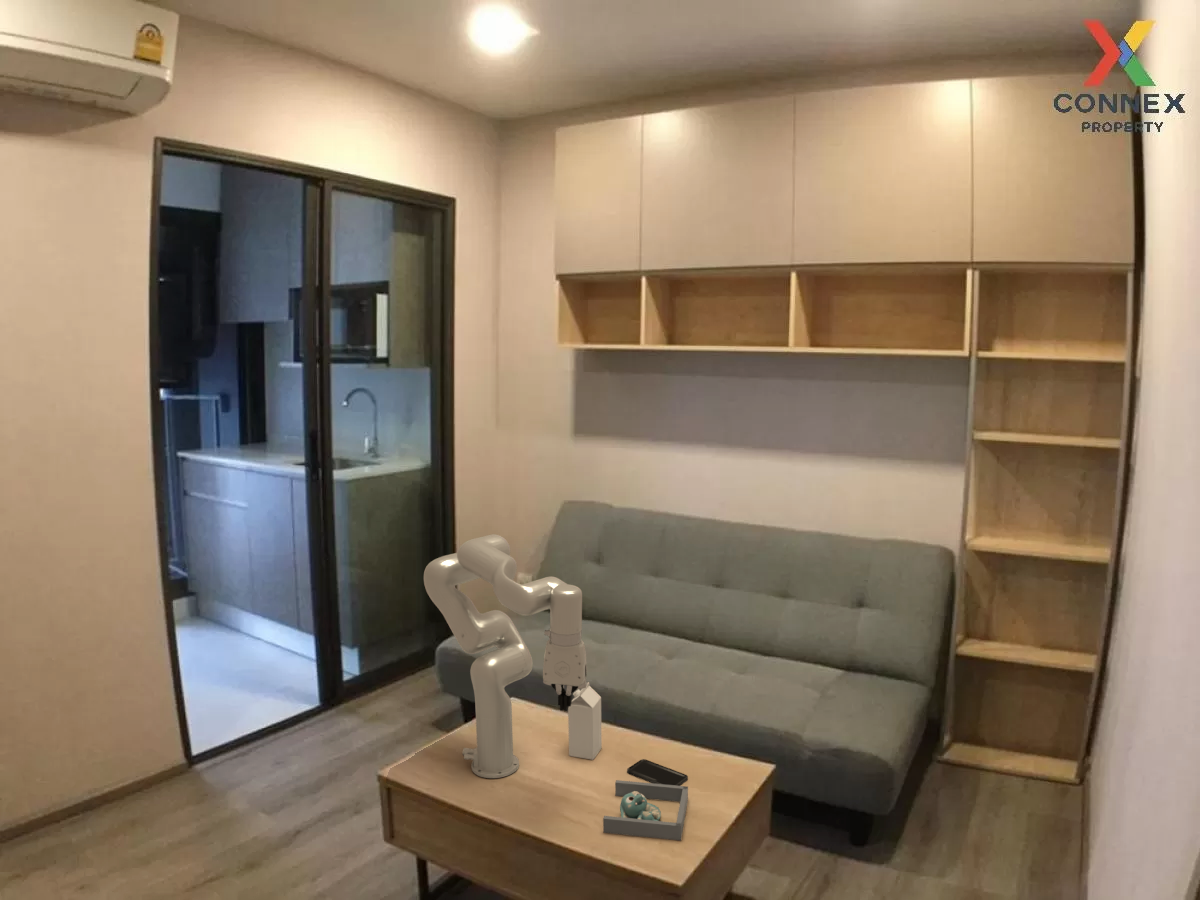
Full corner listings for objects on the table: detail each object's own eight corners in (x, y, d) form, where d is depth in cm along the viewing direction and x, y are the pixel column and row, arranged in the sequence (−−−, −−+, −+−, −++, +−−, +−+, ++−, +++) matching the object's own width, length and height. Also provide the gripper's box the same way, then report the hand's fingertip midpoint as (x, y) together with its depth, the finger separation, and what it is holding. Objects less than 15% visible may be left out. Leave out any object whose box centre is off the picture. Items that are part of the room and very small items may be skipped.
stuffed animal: (641, 821, 195) (609, 790, 204) (637, 847, 197) (606, 815, 206) (676, 805, 202) (644, 775, 211) (672, 830, 204) (640, 800, 213)
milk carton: (601, 748, 240) (601, 683, 237) (593, 760, 233) (592, 693, 231) (577, 744, 242) (576, 680, 240) (568, 756, 236) (567, 690, 233)
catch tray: (603, 832, 200) (603, 818, 200) (616, 793, 217) (616, 780, 216) (681, 840, 197) (681, 826, 196) (688, 799, 213) (688, 786, 213)
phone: (642, 758, 233) (689, 775, 223) (642, 762, 233) (689, 780, 224) (625, 770, 227) (672, 788, 217) (625, 774, 227) (672, 792, 218)
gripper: (531, 639, 205) (530, 711, 208) (592, 645, 202) (591, 719, 205) (540, 628, 212) (539, 698, 215) (599, 634, 209) (597, 705, 212)
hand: (564, 708), depth 210 cm, fingers closed
